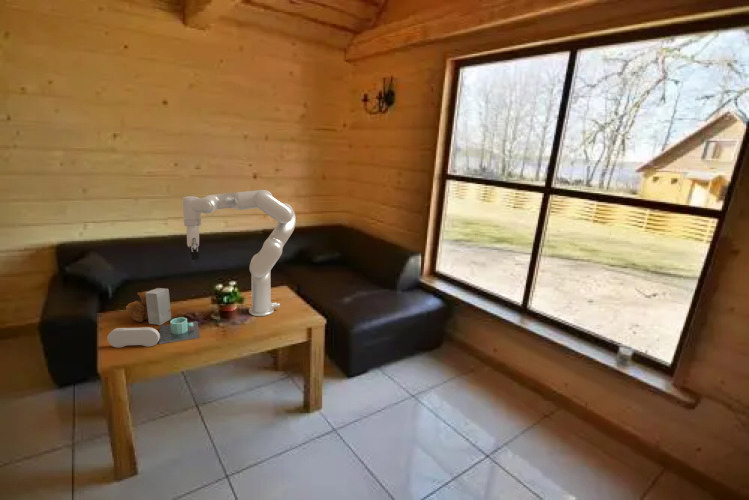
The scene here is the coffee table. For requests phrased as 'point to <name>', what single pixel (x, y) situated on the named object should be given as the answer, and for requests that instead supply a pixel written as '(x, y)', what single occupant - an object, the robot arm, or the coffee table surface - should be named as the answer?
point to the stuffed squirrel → (138, 308)
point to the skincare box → (158, 306)
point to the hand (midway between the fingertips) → (194, 256)
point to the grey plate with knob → (170, 337)
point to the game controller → (133, 337)
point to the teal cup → (180, 325)
